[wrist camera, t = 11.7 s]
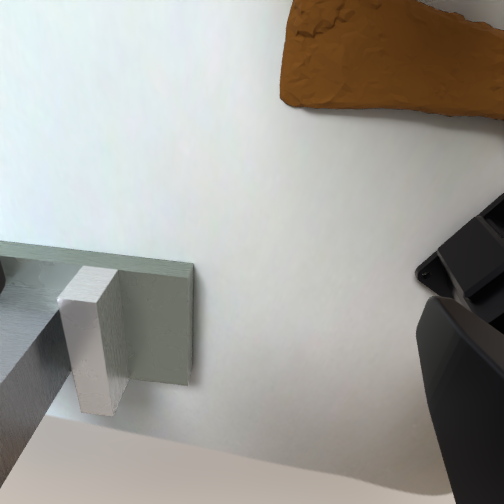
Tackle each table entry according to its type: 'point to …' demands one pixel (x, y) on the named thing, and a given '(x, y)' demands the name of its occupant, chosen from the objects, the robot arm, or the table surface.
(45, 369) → the steel block
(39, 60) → the table surface
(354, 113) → the table surface
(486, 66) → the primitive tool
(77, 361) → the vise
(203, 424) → the table surface
